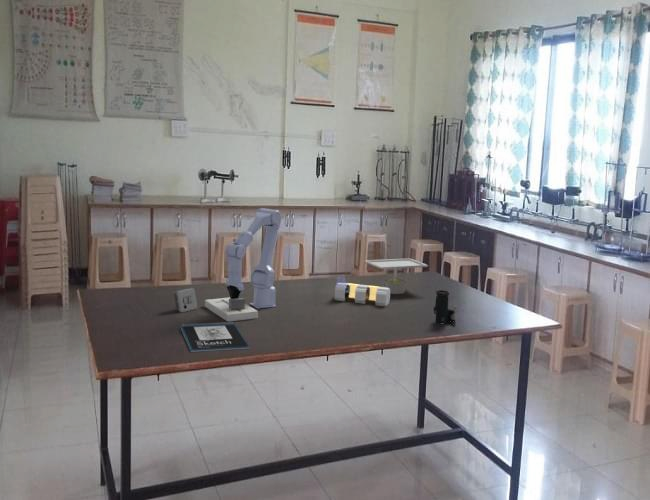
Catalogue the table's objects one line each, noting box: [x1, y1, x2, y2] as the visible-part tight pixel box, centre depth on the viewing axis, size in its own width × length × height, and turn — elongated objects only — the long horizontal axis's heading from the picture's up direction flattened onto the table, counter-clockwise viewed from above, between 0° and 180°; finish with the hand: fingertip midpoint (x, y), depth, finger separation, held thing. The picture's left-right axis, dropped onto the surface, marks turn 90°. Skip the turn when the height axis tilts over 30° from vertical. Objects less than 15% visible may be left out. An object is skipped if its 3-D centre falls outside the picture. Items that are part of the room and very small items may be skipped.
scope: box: [433, 289, 458, 324], centre depth 294 cm, size 8×14×10 cm
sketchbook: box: [180, 321, 251, 353], centre depth 259 cm, size 22×30×2 cm
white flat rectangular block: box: [204, 297, 259, 323], centre depth 294 cm, size 14×25×3 cm, turn 32°
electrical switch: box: [173, 287, 198, 313], centre depth 293 cm, size 9×5×9 cm, turn 141°
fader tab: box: [229, 297, 246, 310], centre depth 288 cm, size 6×3×4 cm, turn 122°
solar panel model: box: [363, 257, 429, 295], centre depth 346 cm, size 28×17×15 cm, turn 115°
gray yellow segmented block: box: [334, 274, 391, 307], centre depth 323 cm, size 25×10×13 cm, turn 74°
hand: (234, 302), depth 290 cm, fingers closed
